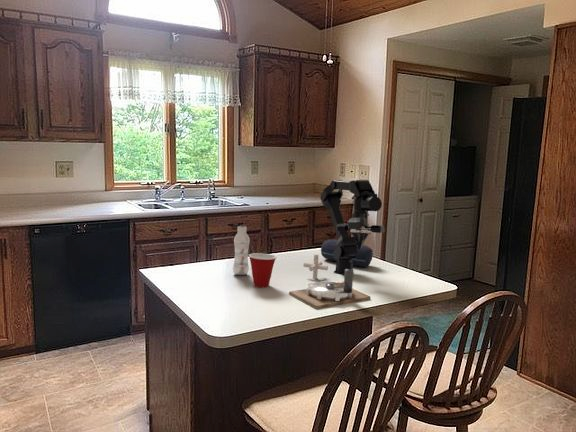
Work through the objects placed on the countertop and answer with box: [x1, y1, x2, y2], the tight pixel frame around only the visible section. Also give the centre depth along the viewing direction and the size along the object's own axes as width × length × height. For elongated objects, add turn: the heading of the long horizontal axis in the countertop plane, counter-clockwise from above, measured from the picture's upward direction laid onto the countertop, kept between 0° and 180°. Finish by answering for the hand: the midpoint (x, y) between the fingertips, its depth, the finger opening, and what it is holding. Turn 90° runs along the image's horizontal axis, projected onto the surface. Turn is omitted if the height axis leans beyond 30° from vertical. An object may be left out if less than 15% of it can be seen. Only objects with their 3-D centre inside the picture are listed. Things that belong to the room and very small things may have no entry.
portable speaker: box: [320, 239, 373, 268], centre depth 224 cm, size 25×10×10 cm, turn 53°
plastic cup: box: [248, 252, 277, 288], centre depth 184 cm, size 11×11×12 cm
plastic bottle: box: [232, 225, 251, 276], centre depth 196 cm, size 6×7×20 cm
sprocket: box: [306, 268, 354, 301], centre depth 174 cm, size 17×17×10 cm
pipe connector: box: [303, 253, 329, 280], centre depth 197 cm, size 10×10×10 cm
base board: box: [288, 280, 371, 310], centre depth 174 cm, size 24×17×3 cm
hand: (359, 249), depth 195 cm, fingers closed
